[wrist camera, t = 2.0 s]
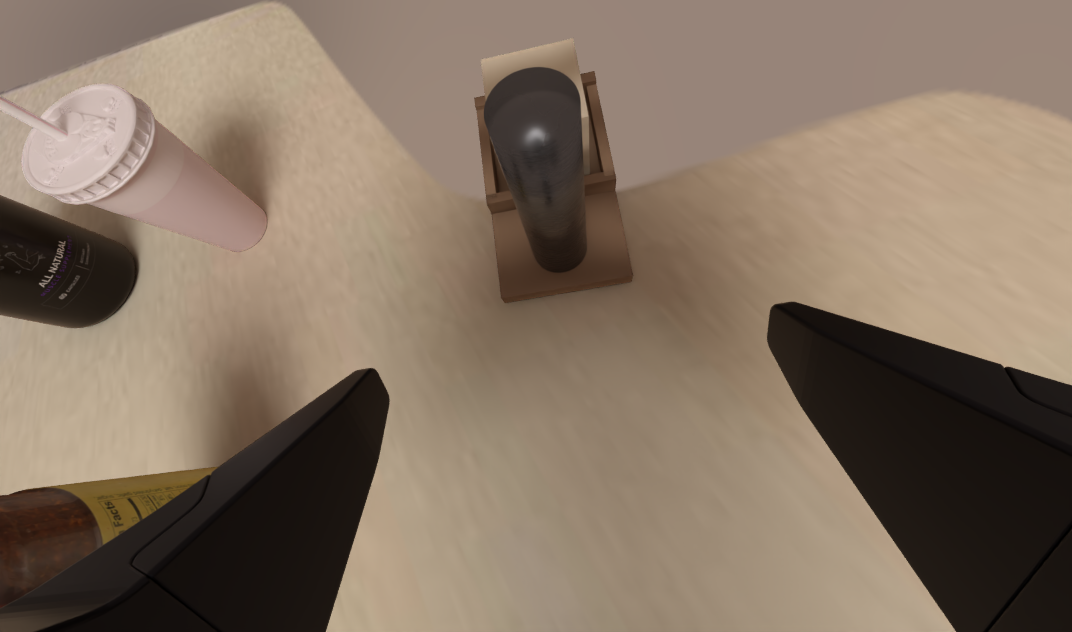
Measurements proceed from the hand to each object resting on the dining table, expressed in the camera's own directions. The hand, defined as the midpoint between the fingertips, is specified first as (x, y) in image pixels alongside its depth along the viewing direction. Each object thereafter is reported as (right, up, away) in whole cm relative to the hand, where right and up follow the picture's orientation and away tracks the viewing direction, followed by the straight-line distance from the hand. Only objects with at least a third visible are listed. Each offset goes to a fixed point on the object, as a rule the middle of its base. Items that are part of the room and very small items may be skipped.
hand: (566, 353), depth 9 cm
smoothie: (-22, +7, +20) cm, 30 cm away
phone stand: (0, +8, +17) cm, 19 cm away
